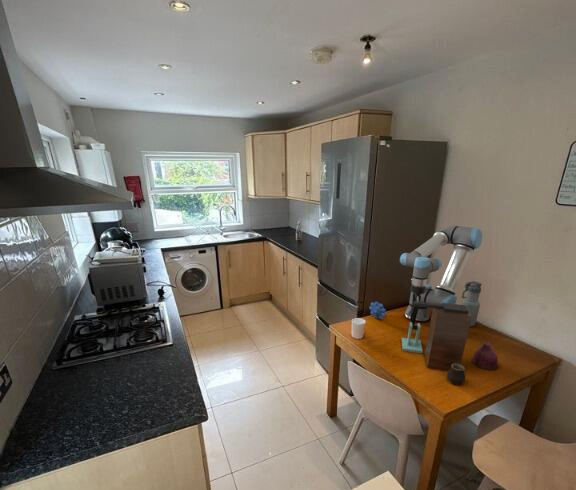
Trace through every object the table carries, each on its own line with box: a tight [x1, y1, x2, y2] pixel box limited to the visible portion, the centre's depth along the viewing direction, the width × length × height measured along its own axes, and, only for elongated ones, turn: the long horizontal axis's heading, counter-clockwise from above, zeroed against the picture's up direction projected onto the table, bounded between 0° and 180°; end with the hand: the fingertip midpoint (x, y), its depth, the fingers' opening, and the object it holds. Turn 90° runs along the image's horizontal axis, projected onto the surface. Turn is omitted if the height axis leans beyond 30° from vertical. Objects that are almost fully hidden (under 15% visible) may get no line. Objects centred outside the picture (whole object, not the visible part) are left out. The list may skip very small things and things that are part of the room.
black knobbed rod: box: [408, 323, 418, 331], centre depth 170 cm, size 15×4×4 cm, turn 163°
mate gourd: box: [446, 364, 466, 385], centre depth 137 cm, size 7×8×10 cm
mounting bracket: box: [401, 321, 424, 354], centre depth 166 cm, size 12×10×14 cm
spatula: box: [413, 301, 469, 314], centre depth 144 cm, size 7×23×2 cm, turn 73°
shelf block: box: [424, 303, 472, 372], centre depth 148 cm, size 12×14×30 cm
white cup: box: [351, 317, 367, 340], centre depth 177 cm, size 8×8×10 cm
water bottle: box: [461, 280, 483, 327], centre depth 190 cm, size 10×10×28 cm
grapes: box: [368, 301, 387, 320], centre depth 198 cm, size 12×7×12 cm, turn 53°
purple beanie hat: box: [471, 341, 498, 371], centre depth 149 cm, size 10×10×15 cm
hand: (412, 323), depth 174 cm, fingers closed
